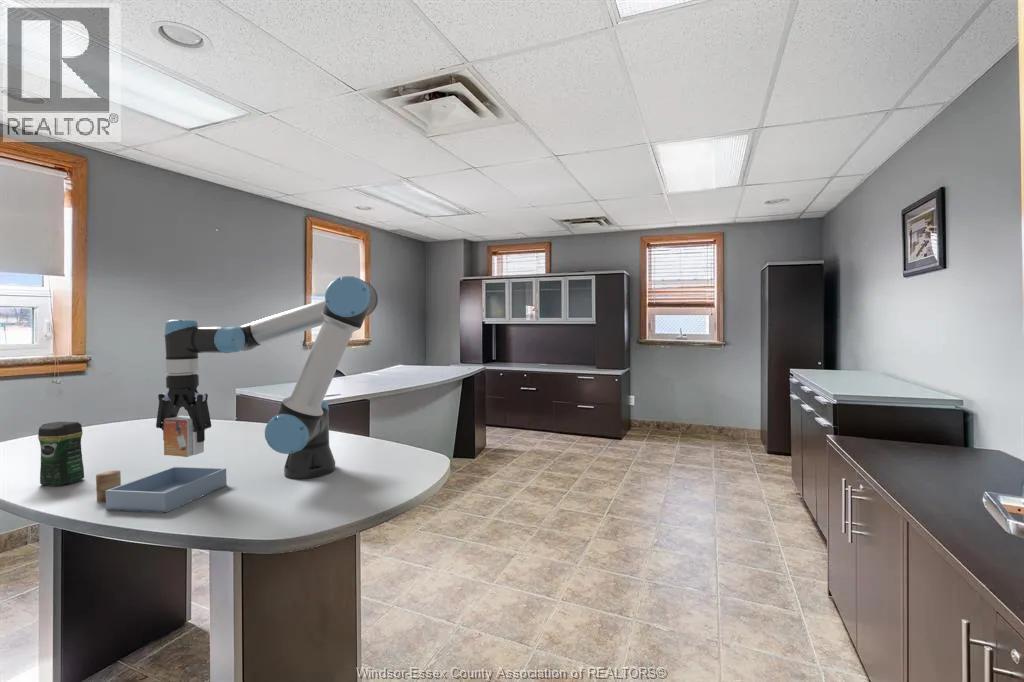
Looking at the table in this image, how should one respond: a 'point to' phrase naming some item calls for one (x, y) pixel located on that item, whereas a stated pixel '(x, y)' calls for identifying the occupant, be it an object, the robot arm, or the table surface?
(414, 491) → the table surface
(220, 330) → the robot arm
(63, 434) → the coffee jar
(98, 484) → the tan wooden block
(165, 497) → the tray
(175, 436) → the small box
